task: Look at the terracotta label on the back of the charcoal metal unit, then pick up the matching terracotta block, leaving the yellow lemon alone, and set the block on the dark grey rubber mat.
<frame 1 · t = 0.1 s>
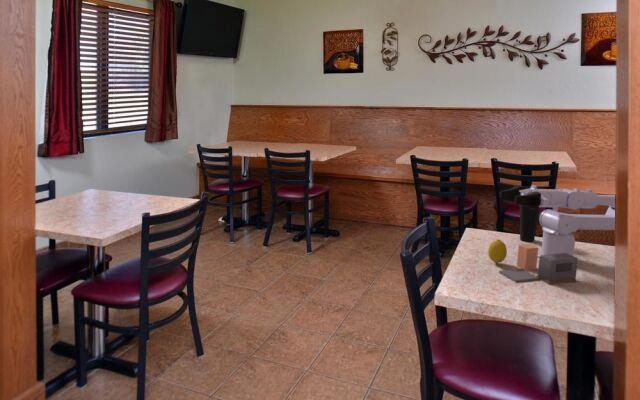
hand: (507, 197, 159), 22 cm above the table, tool horizontal, fingers open, 7 cm apart
parts unit: (556, 279, 150), on the table
terracotta block: (526, 267, 160), on the table
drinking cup: (526, 240, 189), on the table
lemon: (496, 264, 163), on the table
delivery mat: (518, 276, 152), on the table
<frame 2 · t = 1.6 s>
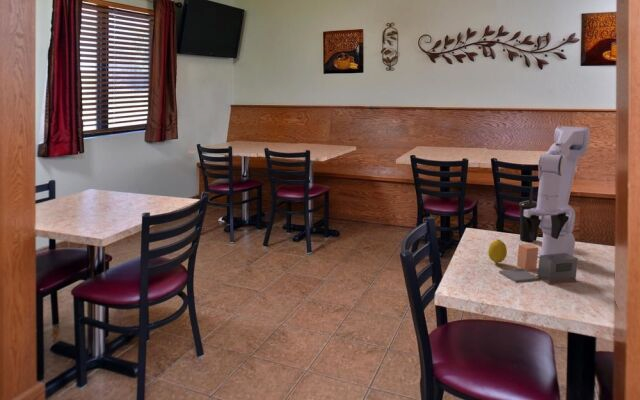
hand: (543, 238, 154), 10 cm above the table, tool pointing down, fingers open, 7 cm apart
nothing on the table moved.
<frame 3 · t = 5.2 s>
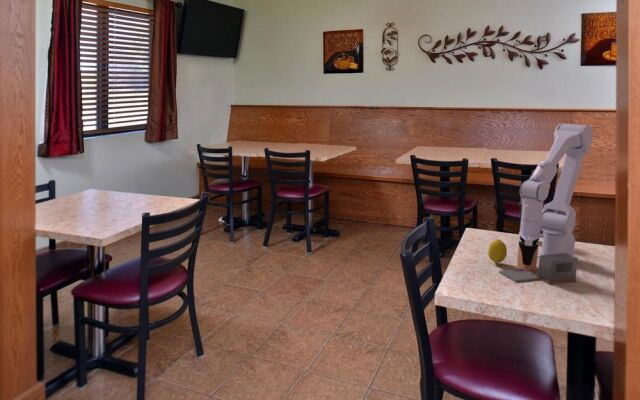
hand: (527, 261, 159), 2 cm above the table, tool pointing down, fingers closed on terracotta block, 6 cm apart
terracotta block: (526, 267, 160), on the table, touching gripper
everything else where it was.
when the fingers open (3 cm above the table, at t = 10.6 s): terracotta block stays where it is, resting on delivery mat.
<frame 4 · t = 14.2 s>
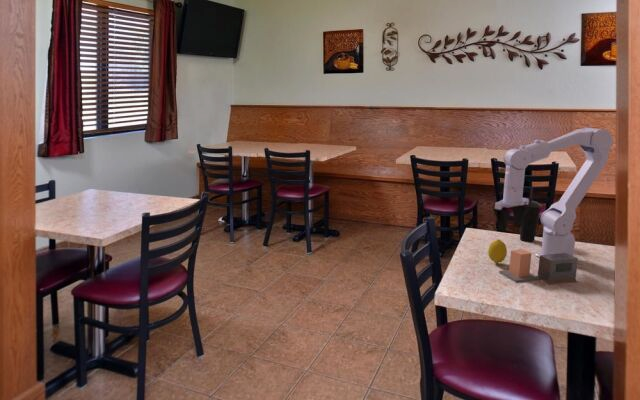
hand: (509, 228, 165), 10 cm above the table, tool pointing down, fingers open, 7 cm apart
terracotta block: (519, 274, 152), point 1 cm above the table, touching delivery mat
everything else where it was.
at the end: terracotta block 0.0 cm off-centre on the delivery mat, point 0.6 cm above the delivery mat's base; terracotta block tilted 0°; lemon moved 0.2 cm from its start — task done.
